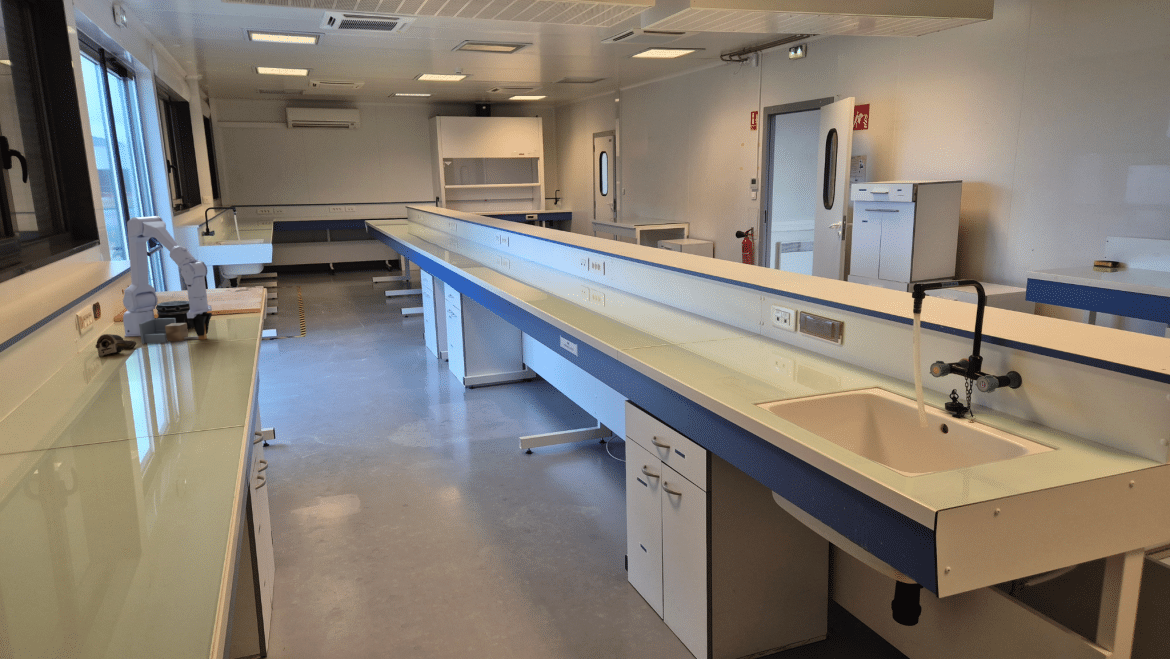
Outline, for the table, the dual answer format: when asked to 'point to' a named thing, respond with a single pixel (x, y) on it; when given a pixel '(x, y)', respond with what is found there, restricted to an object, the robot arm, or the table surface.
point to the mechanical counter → (112, 344)
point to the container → (175, 311)
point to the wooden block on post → (180, 332)
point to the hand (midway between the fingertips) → (202, 334)
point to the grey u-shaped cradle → (155, 330)
